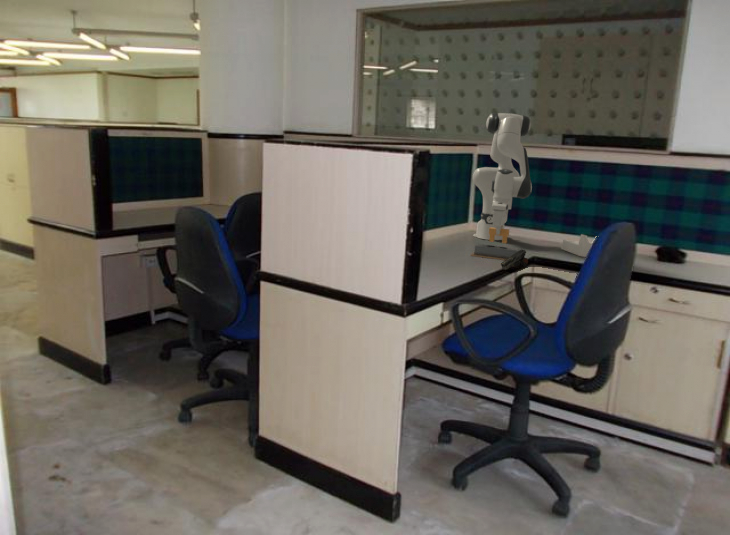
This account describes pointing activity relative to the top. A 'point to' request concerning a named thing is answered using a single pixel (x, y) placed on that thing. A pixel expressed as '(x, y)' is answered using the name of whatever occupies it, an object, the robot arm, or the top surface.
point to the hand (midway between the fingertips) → (498, 233)
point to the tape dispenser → (577, 246)
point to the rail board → (493, 251)
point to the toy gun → (515, 260)
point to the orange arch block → (503, 233)
